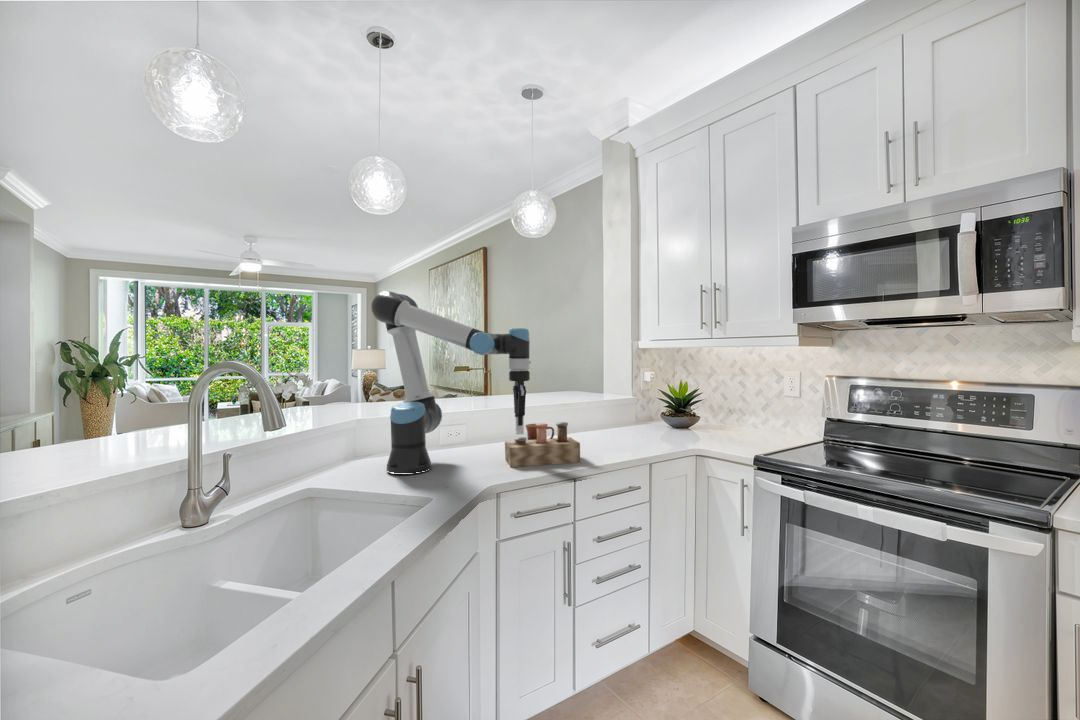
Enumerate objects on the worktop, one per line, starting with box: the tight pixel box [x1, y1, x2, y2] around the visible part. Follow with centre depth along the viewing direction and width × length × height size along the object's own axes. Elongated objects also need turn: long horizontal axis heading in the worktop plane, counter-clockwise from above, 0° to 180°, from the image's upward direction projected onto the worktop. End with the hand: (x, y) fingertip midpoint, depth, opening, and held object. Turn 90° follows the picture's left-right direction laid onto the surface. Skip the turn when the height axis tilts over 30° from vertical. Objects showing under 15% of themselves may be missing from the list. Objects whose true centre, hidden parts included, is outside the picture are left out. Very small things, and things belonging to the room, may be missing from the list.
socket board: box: [504, 437, 581, 468], centre depth 175 cm, size 26×12×7 cm, turn 103°
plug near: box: [514, 436, 527, 445], centre depth 173 cm, size 4×4×9 cm
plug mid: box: [535, 422, 548, 444], centre depth 175 cm, size 4×4×9 cm
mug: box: [524, 423, 555, 440], centre depth 195 cm, size 12×9×10 cm
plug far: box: [555, 421, 569, 443], centre depth 177 cm, size 4×4×9 cm
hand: (519, 433), depth 173 cm, fingers closed
